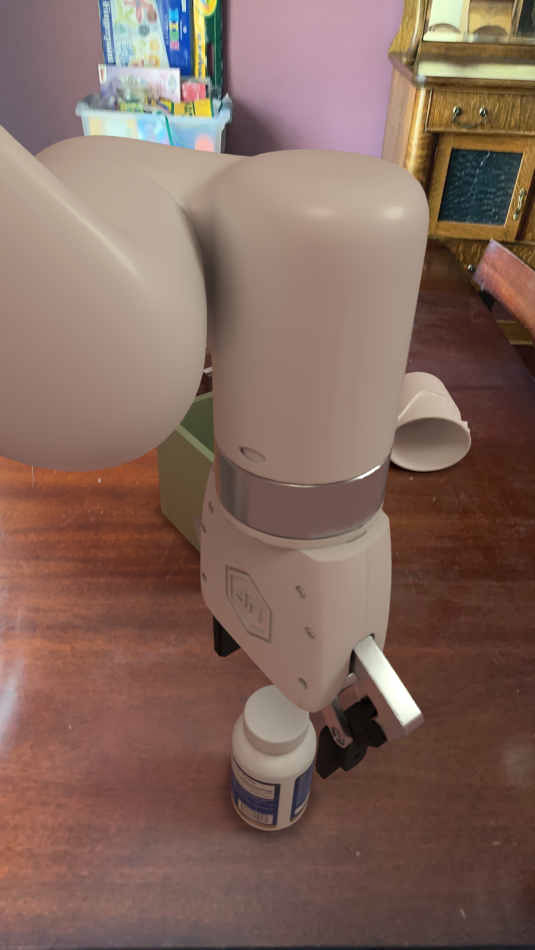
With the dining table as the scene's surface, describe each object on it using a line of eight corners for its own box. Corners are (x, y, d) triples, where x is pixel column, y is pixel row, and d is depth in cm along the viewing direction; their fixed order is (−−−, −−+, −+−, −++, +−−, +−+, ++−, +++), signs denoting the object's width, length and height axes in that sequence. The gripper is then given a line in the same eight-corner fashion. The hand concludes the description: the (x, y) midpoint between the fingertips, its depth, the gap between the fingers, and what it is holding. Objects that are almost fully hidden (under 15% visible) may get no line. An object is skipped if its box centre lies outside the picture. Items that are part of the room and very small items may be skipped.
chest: (240, 596, 61) (243, 489, 53) (160, 511, 70) (153, 410, 62) (365, 530, 69) (383, 429, 61) (280, 461, 77) (286, 366, 70)
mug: (446, 429, 84) (459, 372, 79) (462, 475, 77) (479, 415, 72) (350, 425, 84) (358, 368, 79) (357, 471, 77) (367, 411, 72)
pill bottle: (290, 747, 49) (299, 664, 43) (321, 817, 45) (336, 736, 40) (220, 771, 48) (220, 688, 42) (245, 845, 44) (249, 766, 38)
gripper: (129, 406, 33) (156, 633, 43) (379, 634, 22) (335, 863, 33) (253, 364, 37) (250, 583, 47) (519, 542, 26) (439, 775, 36)
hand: (285, 698), depth 40 cm, fingers open, 9 cm apart
